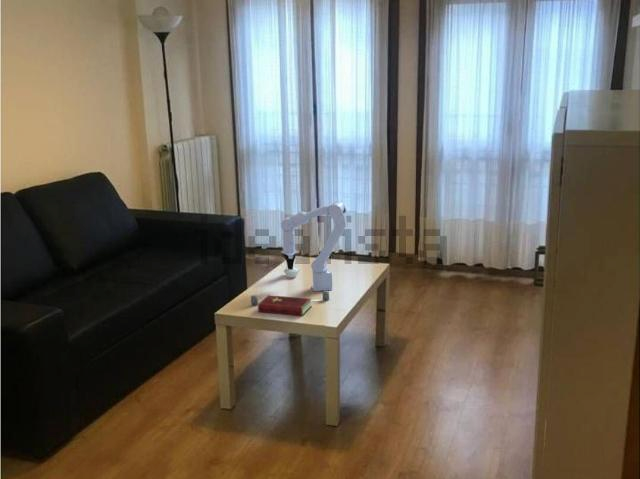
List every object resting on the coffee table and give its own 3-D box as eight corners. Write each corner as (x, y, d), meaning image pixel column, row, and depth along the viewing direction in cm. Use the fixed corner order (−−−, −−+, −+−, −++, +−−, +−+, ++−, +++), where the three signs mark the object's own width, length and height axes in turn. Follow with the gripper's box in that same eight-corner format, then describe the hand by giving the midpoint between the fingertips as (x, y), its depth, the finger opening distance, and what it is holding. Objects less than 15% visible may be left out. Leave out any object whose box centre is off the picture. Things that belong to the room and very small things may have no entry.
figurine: (301, 273, 346) (299, 246, 342) (297, 279, 337) (295, 250, 333) (287, 273, 347) (286, 245, 343) (283, 278, 338) (282, 250, 334)
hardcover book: (302, 316, 285) (302, 307, 284) (258, 312, 291) (257, 303, 290) (311, 306, 296) (311, 298, 295) (268, 303, 302) (268, 294, 301)
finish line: (328, 298, 306) (328, 290, 305) (329, 300, 303) (329, 292, 302) (251, 303, 302) (250, 295, 301) (251, 306, 299) (251, 297, 298)
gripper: (280, 239, 325) (281, 265, 328) (281, 246, 311) (283, 273, 314) (294, 238, 326) (295, 264, 329) (296, 245, 312) (297, 272, 315)
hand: (290, 268), depth 322 cm, fingers closed
